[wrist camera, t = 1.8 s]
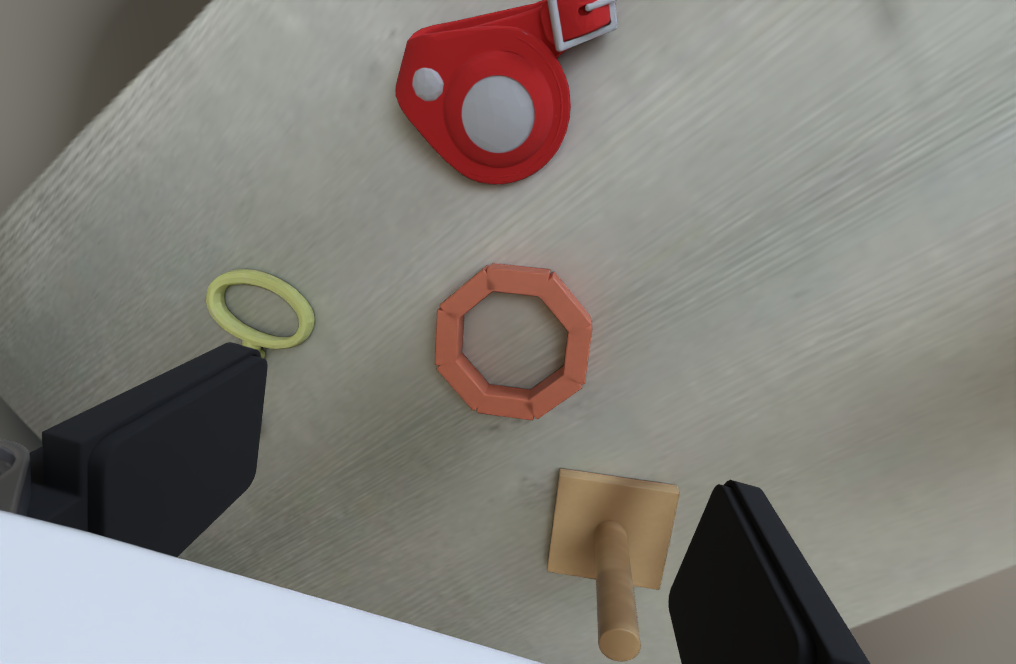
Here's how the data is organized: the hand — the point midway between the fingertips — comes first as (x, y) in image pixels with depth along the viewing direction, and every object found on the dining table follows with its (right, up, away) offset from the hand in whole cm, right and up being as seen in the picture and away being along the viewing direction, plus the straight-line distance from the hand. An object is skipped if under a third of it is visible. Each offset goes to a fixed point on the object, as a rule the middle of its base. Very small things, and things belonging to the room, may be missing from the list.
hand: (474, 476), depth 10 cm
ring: (+1, +3, +23) cm, 24 cm away
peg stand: (+8, -11, +27) cm, 30 cm away
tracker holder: (+1, +17, +19) cm, 26 cm away
